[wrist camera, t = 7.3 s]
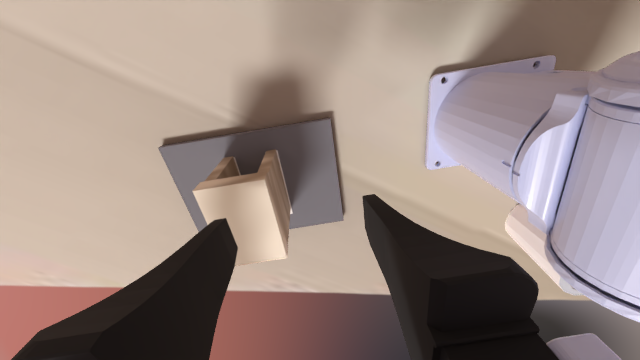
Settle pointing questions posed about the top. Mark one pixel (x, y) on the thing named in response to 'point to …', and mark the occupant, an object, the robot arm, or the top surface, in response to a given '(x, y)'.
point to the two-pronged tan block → (249, 208)
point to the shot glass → (533, 244)
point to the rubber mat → (248, 152)
